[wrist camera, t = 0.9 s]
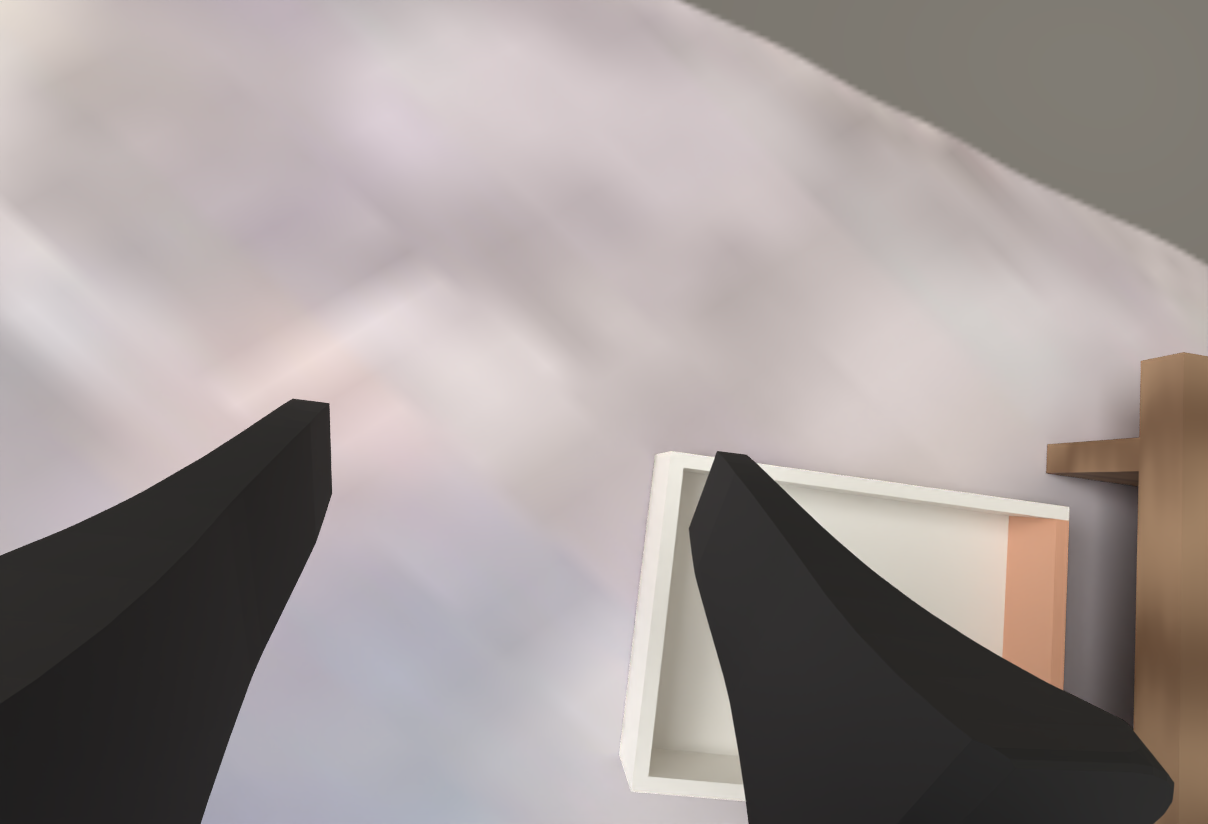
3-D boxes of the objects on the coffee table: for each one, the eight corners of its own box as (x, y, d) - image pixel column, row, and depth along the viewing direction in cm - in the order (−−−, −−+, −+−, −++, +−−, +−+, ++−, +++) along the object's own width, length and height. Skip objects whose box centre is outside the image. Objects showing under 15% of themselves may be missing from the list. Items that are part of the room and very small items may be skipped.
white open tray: (998, 788, 24) (1058, 827, 21) (619, 754, 23) (631, 791, 20) (1011, 504, 26) (1069, 506, 23) (654, 454, 24) (671, 451, 21)
